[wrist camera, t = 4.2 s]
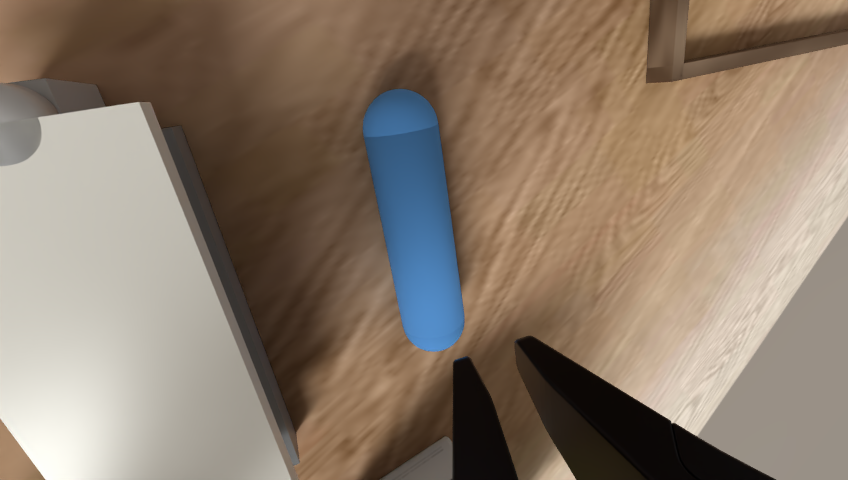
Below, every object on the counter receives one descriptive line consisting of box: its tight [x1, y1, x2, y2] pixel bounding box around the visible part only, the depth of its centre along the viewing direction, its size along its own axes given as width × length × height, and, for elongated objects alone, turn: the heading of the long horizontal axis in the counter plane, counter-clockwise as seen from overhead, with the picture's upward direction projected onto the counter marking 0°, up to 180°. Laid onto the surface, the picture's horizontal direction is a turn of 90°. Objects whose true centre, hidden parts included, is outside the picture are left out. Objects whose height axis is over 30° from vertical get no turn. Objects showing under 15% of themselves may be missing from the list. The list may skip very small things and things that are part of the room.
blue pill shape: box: [363, 89, 464, 351], centre depth 23 cm, size 16×4×4 cm, turn 9°
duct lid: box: [0, 83, 299, 480], centre depth 16 cm, size 21×8×2 cm, turn 9°
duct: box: [9, 78, 300, 466], centre depth 19 cm, size 22×8×5 cm, turn 9°
